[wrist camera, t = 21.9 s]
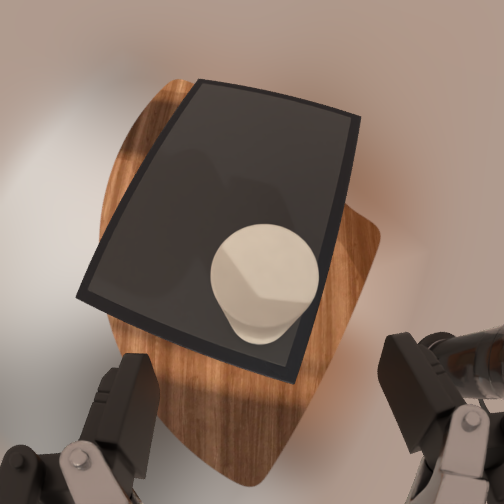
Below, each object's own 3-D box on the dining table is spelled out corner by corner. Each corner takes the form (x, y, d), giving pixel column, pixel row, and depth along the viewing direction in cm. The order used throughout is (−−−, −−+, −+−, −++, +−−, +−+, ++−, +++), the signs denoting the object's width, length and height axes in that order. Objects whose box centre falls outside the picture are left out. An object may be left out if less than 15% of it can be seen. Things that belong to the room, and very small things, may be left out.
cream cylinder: (296, 296, 17) (330, 240, 9) (279, 352, 16) (302, 342, 8) (241, 279, 17) (232, 210, 10) (221, 333, 16) (194, 306, 9)
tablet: (358, 124, 23) (362, 114, 22) (292, 383, 16) (295, 384, 15) (199, 86, 25) (198, 76, 23) (82, 300, 18) (73, 296, 17)
